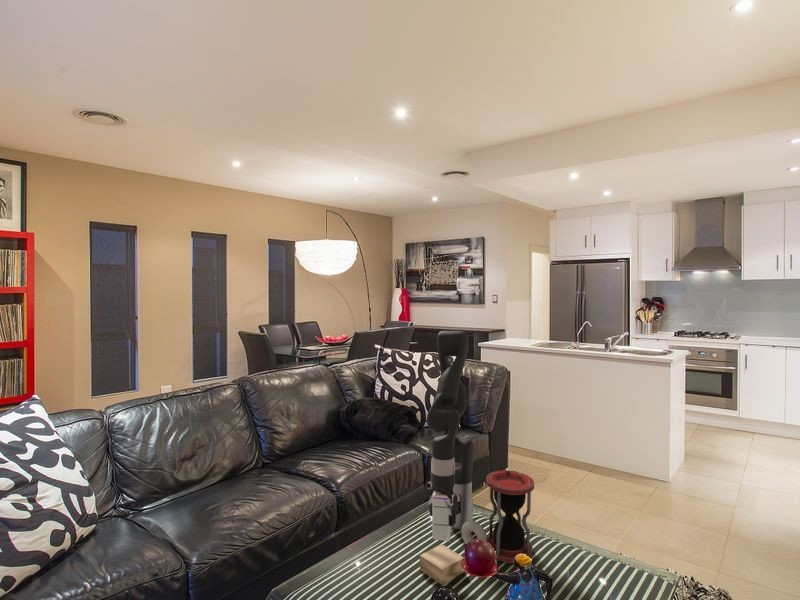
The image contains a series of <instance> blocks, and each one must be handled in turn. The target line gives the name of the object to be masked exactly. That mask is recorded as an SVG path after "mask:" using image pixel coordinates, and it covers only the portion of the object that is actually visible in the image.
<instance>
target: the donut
mask: <svg viewBox="0 0 800 600" xmlns="http://www.w3.org/2000/svg"><path fill="white" fill-rule="evenodd" d="M472 532H473V533H474V534H475V536H476V538H478V539H484V540H485V541H487V538H488V535H487V532H486V530H485V529H484V526H482V525H481V523H479V522H477V521H475V520H473V521H472V520H471V521H467V522H465V523H464V525H463V526H462V530H461V532H460V533H461V537H462V540H463V543H465V545H466V544H467V543H468V542H470V541H471V540H472V539H475V538H474V537H473V535H472Z"/></svg>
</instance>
